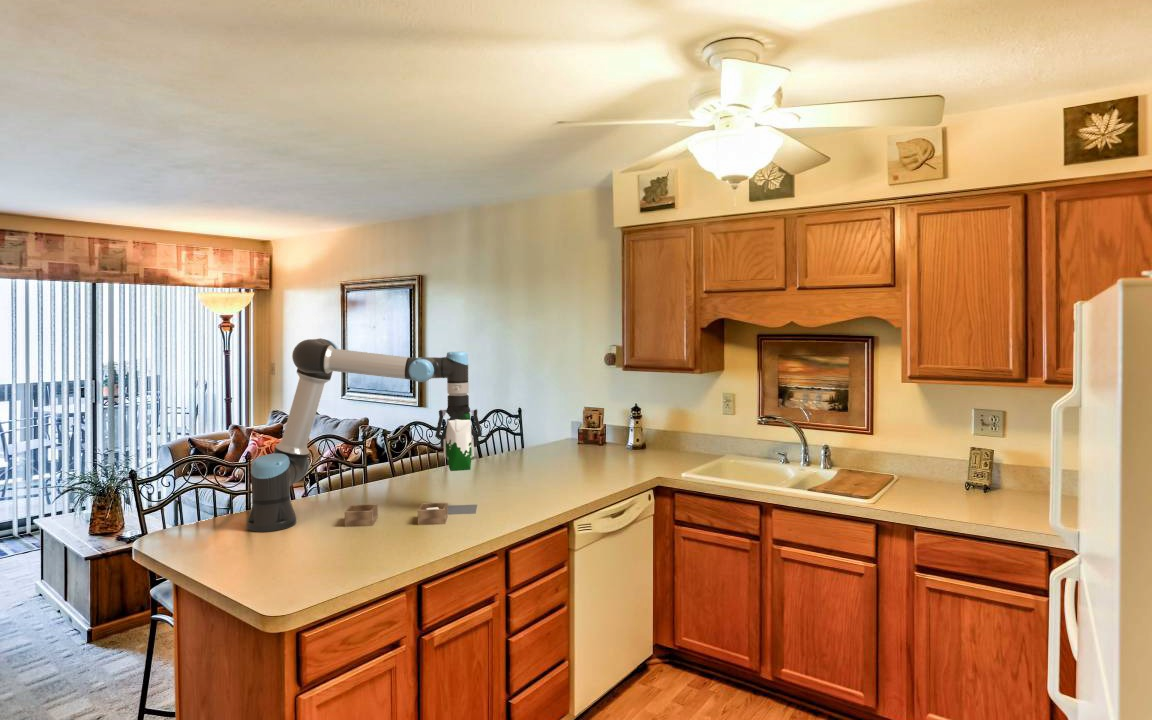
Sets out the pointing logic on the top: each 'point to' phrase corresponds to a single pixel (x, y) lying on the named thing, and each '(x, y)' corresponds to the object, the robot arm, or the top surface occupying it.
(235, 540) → the top surface
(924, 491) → the top surface
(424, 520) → the crate
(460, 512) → the coaster
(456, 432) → the soya milk
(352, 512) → the crate
